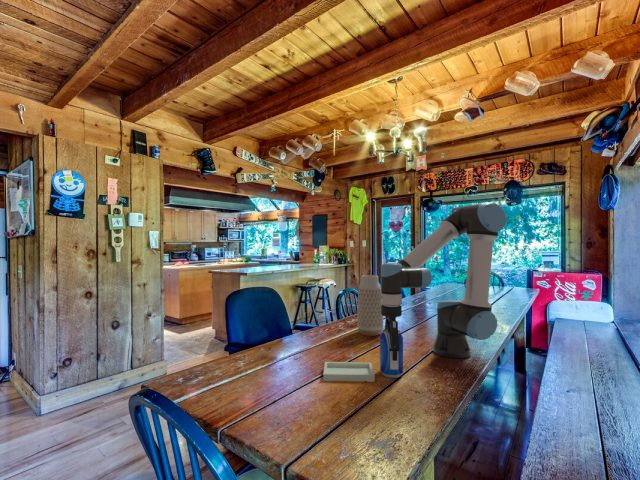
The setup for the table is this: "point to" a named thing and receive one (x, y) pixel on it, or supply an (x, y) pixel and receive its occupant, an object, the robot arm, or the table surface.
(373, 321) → the vase
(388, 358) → the beer can
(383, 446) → the table surface
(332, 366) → the tray
